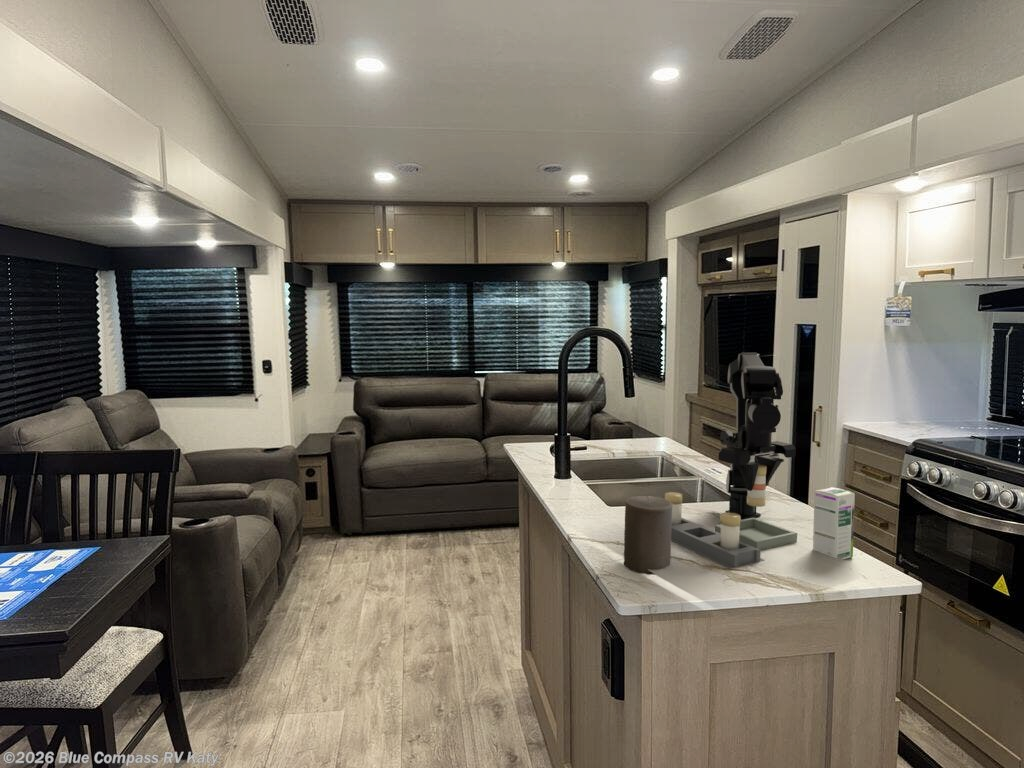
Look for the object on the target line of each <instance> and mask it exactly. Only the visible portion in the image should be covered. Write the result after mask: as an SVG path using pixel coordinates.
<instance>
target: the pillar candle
mask: <svg viewBox="0 0 1024 768" xmlns="http://www.w3.org/2000/svg"><path fill="white" fill-rule="evenodd" d="M672 506H673V504H672V503H671V502H670V501H668V500H666V499H665V498H662V497H656V496H653V495H638V496H631V497H630V496H629V497H628V498H626V500H625V508H624V509H625V510H624V532H623V533H624V535H623V542H624V543H623V547H624V550H623V551H624V552H623V565H624V567H625V568H627V569H628V570H630V571H631V572H634V573H639V574H644V575H645V574H646V575H655V572H653V571H658V570H663V569H665V568H668V567H670V565H671V560H672V559H671V556H672V555H671V554H672V553H671V552H672V542H671V530H672Z"/></svg>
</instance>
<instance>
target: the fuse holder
mask: <svg viewBox="0 0 1024 768" xmlns="http://www.w3.org/2000/svg"><path fill="white" fill-rule="evenodd" d="M720 535H721V533H718V532H716V531H715V530H713V529H710V528H708V527H705V526H704V525H700V524H699V523H696V522H694V521H691V520H688V519H686V518H683V517H681V524H679V525H674V526H672V530H671V543H673V544H675V545H678V547H679V546H680V547H682V548H683V549H686V550H688V551H690V552H692V553H695V554H697V555H699V556H701V557H704V558H705V559H708V560H709V561H712V562H714V563H715V564H718V565H720V566H722V567H724V568H727V569H729V570H731V569H735V568H740V567H743V566H747V565H751V564H756V563H760V562H764V561H765V559H763V558H761V550H760V549H757V548H755V547H753V546H750V545H748V544H745V543H743V542H740V541H739V549H736V550H732V551H729V550H726V549H724V548H722V547H720Z"/></svg>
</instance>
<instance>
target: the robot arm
mask: <svg viewBox="0 0 1024 768" xmlns="http://www.w3.org/2000/svg"><path fill="white" fill-rule="evenodd" d="M727 384H729V390H730V392H731V394H732V395H733V397H734V399H735V400H736V401H735V402H736V412H735V413H736V415H735V416H736V417H735V418H736V421H735V422H736V426H735V427H736V430H735V431H736V432H734V433H733V431H731V429H727V430H726V429H725V430H722V431H720V437H719V440H720V443H721V445H723V446H724V445H725V446H726V447H722V448H721V449H719V451H718V461H720V462H724V463H728V464H729V465H730V466H729V467H730V469H728V470H727V476H726V480H725V485H726V487H725V489H726V492H727V493H728V494H730V497H729V507H728V510H725V512H730V513H736V514H739V515H740V516H741V517H740V520H744V519H749V518H757V517H761V516H762V513H760V512H757V507H755V506H750V505H748V504H747V495H748V490H749V491H752V489H753V486H754V483H755V479H756V475H757V471H758V467H759V464H761V465H765V466H767V472H766V487H768V484H770V481H771V479H772V478H773V476H774V475H775V472H777V469H778V468H779V467H780V465H782V464H781V463H784V462H785V459H784V458H780V455H779V454H781V455H784V457H785V458H787V459H789V458H795V457H797V456H796V453H797V450H796V449H797V448H796V446H795V445H794V444H792V443H787V442H784V441H778V440H776V441H774V440H773V441H772V437H773V436H772V433H776V432H777V426H778V425H779V424H780V422H781V419H782V418H781V417H782V415H781V412H780V410H779V408H778V407H777V406H776V405H774V401H775V400H782V396H783V394H784V389H783V382H782V377H781V376H780V373H779V372H777V370H776V368H775V367H773V366H769V365H768V366H767V365H765V364H764V363H763V361H762V360H761V354H760V353H757V352H741V353H738V356H737V358H736V359H735V360H733V361H731V362H730V363H729V365H728V371H727ZM725 512H724V513H725Z"/></svg>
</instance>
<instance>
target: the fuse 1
mask: <svg viewBox="0 0 1024 768" xmlns="http://www.w3.org/2000/svg"><path fill="white" fill-rule="evenodd" d="M664 499H666V500H668V501H670V502H671V503H672V504H673V506H672V526H674V525H679V524H681V518H682V513H683V512H682V509H683V508H682V507H683V506H682V504H683V494H682V493H680V492H677V491H675V492H673V491H669V492H665V493H664Z"/></svg>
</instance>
